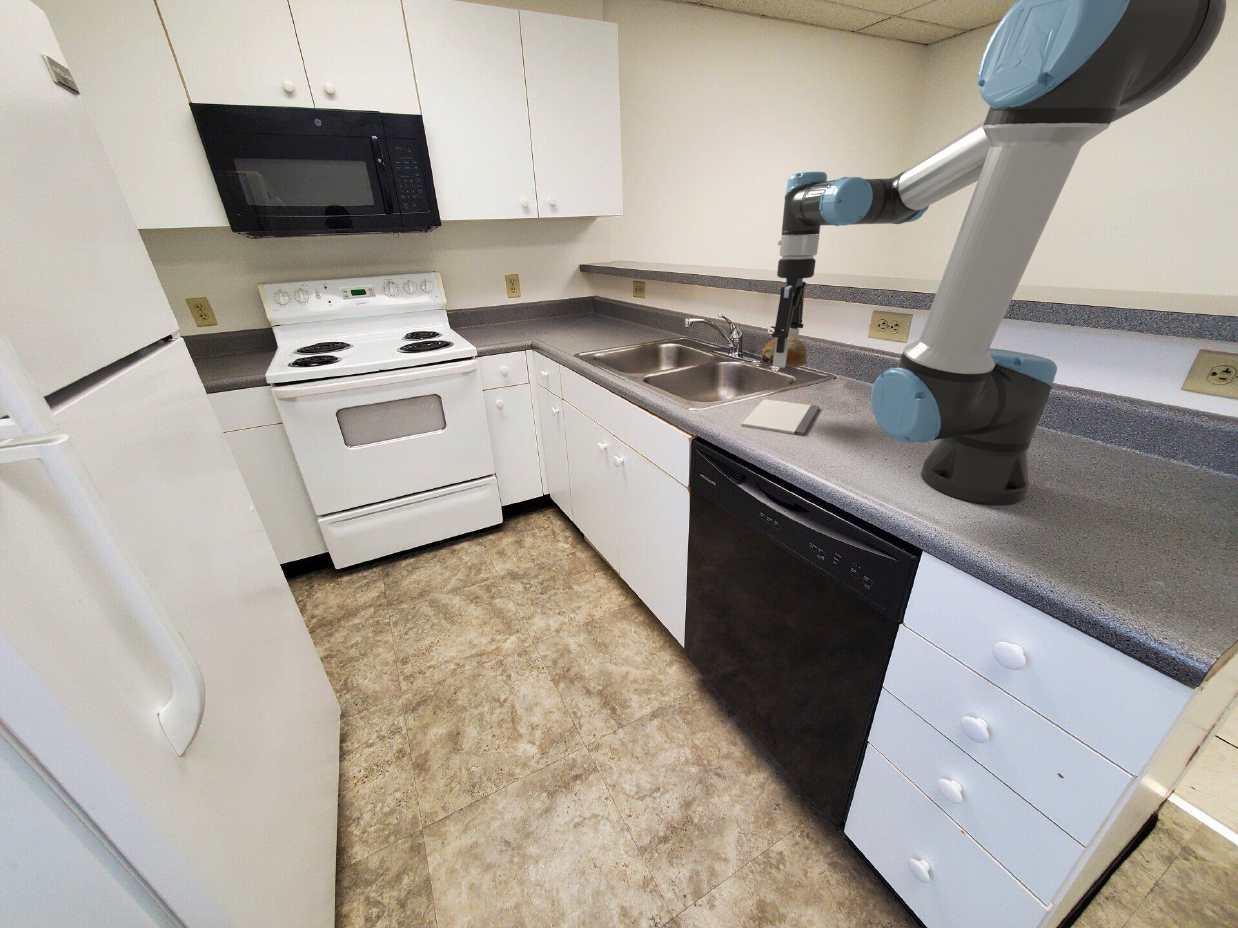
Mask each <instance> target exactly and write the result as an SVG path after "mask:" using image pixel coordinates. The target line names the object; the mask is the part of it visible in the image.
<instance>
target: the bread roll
mask: <svg viewBox="0 0 1238 928" xmlns="http://www.w3.org/2000/svg"><path fill="white" fill-rule="evenodd" d="M788 337H789V343H788V351H787V359H786V367H785V368H786V369H789V368H792V367H793V368H795V367H796V368H797V367H802V366H804V365H806V364H807V363H808V361H807V349H806V347H805V344H804V342H803V341H801V339H799V337H798V338H795V337H793V336H788ZM775 340H776V337H774V338H773V339H772V340H770V341H769V342H767V344H766V345H765V346H764V347H763V349H761V351H760V352H761V357H760V358H761V359H760V360H761V362H762V363H763V364H765V365H767V366H769V367H773V358H774V349H775Z"/></svg>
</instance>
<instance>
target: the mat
mask: <svg viewBox="0 0 1238 928" xmlns="http://www.w3.org/2000/svg"><path fill="white" fill-rule="evenodd" d="M819 409H820V405H817V404H816V405H814V404H803V403H796V402H791V401H790V402H789V401H781V400H772V399H766V398H763V399H762V401H760V402H759V404H758V405H757V406H756V407H755V408H754V409H753V410H752V411H751V412H750V413H749V414H748V416H747V417H746V418H745V419H744V420H743V421H742V422H741V427H745V428H752V429H758V430H759V429H760V430H763V431H764V430H766V431H770V432H771V431H773V432H776V433H777V432H778V433H783V434H790V435H796V436H797V435H798V436H803V437H804V435H805V434H806V433H807V430H809V427H810V425H811V424H812V421H813V420H814V418H815V417H816V415H817V413H818V411H819Z"/></svg>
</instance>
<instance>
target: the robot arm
mask: <svg viewBox="0 0 1238 928" xmlns="http://www.w3.org/2000/svg"><path fill="white" fill-rule="evenodd" d="M1226 10H1227V0H1017V1H1015V2H1014V3H1013V5H1011V7H1010V8H1009V9H1008V10H1007V11H1006V13H1005V14H1004V16H1003V17H1002V18H1001V20H1000V22H998V25H997V26H996V27H995V30H994V32H993V33H992V35H991V37H990V39H989V40H988V42H987V45H986V47H985V49H984V51H983V55H982V56H981V57H982V58H981V60H980V64H979V66H978V67H979V68H978V74H977V85H978V86H979V87H980V90H979V93H980V97H981V98H982V99H983V101H984V102H985V103H986V104H987V105H988V106H989V107H988V111H987V114H986V117H985V119H984V121H982V122H980V123H979V124H977V125H975V126H973V128H971V129H969V130H967V131H966V132H964V133H962V134H961V135H960V136H958V137H957V138H955V139H953V140H951V141H950V142H948V143H947V144H946V145H943V146H942V147H941V148H938V150H935V151H934V152H933V153H930V154H929V155H928V156H927V157H924V158H923V159H921V160H920V161H918V162H917V163H915V164H914V165H911V166H910V167H908V168H907V169H905V170H904V171H902V172H901V173H899V174H897V175H895V176H894V177H890V178H863V177H859V176H849V177H848V176H844V177H839V178H838V179H833V180H828V175H827V173H826V172H825V171H805V172H804V171H802V172H798V173H794V174H791V175H790V176H789V177H788V179H787V183H786V184H787V185H786V191H785V195H784V205H783V213H782V214H783V215H782V216H783V217H782V225H781V238H780V240H778V242H777V245H778V246H780V247H779V256H780V257H781V258H780V259H779V260H778V263H777V272H776V273H777V274H776V276H777V277H778V278H780V279H786V281H785V286H783V287H782V286H781V288H780V290H779V291H780V292H779V293H780V294H779V302H778V307H777V315H776V319H775V326H774V331H773V333H771V336H772V338H776V340H775V349H774V358H773V366H772V368H773V367H775V368H785V367H786V359H787V351H788V343H789V337H788V336H793V337H795V338H798V339H799V334H800V329H803V328H804V323H803V313H804V312H803V311H804V302H805V290H806V285H807V282H806V281H803V279H809V278H813V277H814V275H815V269H816V261H817V260H816V259H815V258H814V257H815V256H817V255H818V249H819V243H820V242H819V241H820V233H821V231H820V230H821V226H834V227H835V226H836V227H839V226H842V227H843V226H848V225H849V226H851V225H854V226H855V225H879V224H882V225H884V224H885V225H887V224H890V225H891V224H892V225H901V224H904V223H912V222H915V221H917V220H918V219H920V218H921V217H923V215H924V214H925V213H926V212H927V211H928V209H929V207H930V206H931V205H932V204H936V203H937V202H938V201H940V200H943V199H945V198H946V197H949V196H951V195H952V194H955V193H956V192H958V191H960V190H962V189H964V188H966V187H968V186H970V185H973V184H975V183H976V186H975V188H974V190H973V194H972V196H971V199H970V201H969V204H968V207H967V210H966V212H965V215H964V217H963V220H962V223H961V226H960V229H959V231H958V233H957V237H956V239H955V242H954V245H953V248H952V251H951V253H950V256H949V258H948V261H947V264H946V266H945V270H944V272H943V274H942V277H941V280H940V282H939V284H938V285H939V286H938V288H937V290H936V293H935V296H934V299H933V302H932V304H931V306H930V310H929V313H928V315H927V318H926V321H925V323H924V326H923V329H922V331H921V335H920V337H919V339H917V340H915V341H912V342H911V343H908V344H907V345H906V346H905V347H904V349H903V351H902V354H901V357H900V359H899V361H898V365H897V367H891V368H889V369H887V370H885V371H884V372H883V373H881V374H879V375H878V377H877V378H876V379H875V381H874V383H873V385H872V389H871V392H870V393H871V396H870V405H871V409H872V410H871V411H872V413H873V415H874V418H875V421H876V423H877V425H878V427H879V428H880V429H881V431H883V432H884V434H886V435H887V436H888V437H889V438H891V439H893V440H895V441H897V442H899V443H905V444H906V443H907V444H909V443H910V444H911V443H921V444H923V443H929V442H931V441H936V440H939V441H938V442H937V443H936V445H935V447H933V448H932V451H931V452H930V453H929V454H928V456H927V457H926V459H925V460H924V462H923V463H922V464H923V465H922V467H921V472H920V476H921V478H922V480H923V481H924V482H925V484H928V486H929V487H931V488H933V489H935V490H936V491H939V492H940V493H943V494H945V495H948V496H950V497H954V498H957V499H960V500H963V501H968V502H973V503H979V504H985V505H1001V506H1002V505H1010V504H1011V505H1012V504H1016V503H1019V502H1021V501H1022V500H1023V499H1024V498H1025V496H1026V493H1027V491H1028V488H1029V484H1030V481H1029V480H1030V479H1029V477H1030V476H1029V463H1028V451H1029V448H1030V445H1031V442H1032V440H1033V437H1034V435H1035V432H1036V430H1037V427H1038V424H1039V422H1040V420H1041V419H1040V418H1041V416H1042V414H1043V412H1044V408H1045V406H1046V403H1047V401H1048V399H1049V396H1050V393H1051V391H1052V389H1053V388H1054V387H1055V386H1054V385H1055V384H1054V382H1055V379H1056V378H1055V377H1056V375H1057V371H1058V366H1057V364H1056V363H1055V362H1054V361H1053V360H1051V359H1049V358H1046V357H1042V356H1040V355H1036V354H1030V353H1026V352H1019V351H1014V350H1008V349H1007V350H1006V349H999V348H993V347H991V345H992V343H993V341H994V339H995V336H996V334H997V332H998V330H999V328H1000V326H1001V323H1002V322H1003V319H1004V316H1005V315H1006V313H1007V311H1008V308H1009V307H1010V304H1011V302H1012V300H1013V298H1014V295H1015V293H1016V291H1017V288H1018V287H1019V284H1020V282H1021V280H1022V278H1023V276H1024V274H1025V271H1026V268H1027V266H1028V265H1029V263H1030V260H1031V258H1032V255H1034V251H1035V249H1036V247H1037V245H1038V243H1039V241H1040V239H1041V236H1042V234H1043V232H1044V230H1045V228H1046V225H1047V223H1048V221H1049V218H1050V217H1051V214H1052V212H1053V211H1054V208H1055V205H1056V203H1057V201H1058V199H1059V198H1060V196H1061V193H1062V190H1063V188H1064V186H1065V184H1066V182H1067V180H1068V177H1069V175H1070V173H1071V171H1072V169H1073V167H1074V164H1075V162H1076V160H1077V158H1078V156H1079V154H1080V152H1081V149H1082V147H1084V145H1086V143H1088V142H1089V141H1090V140H1092V139H1093V138H1095V137H1096V136H1099V135H1100V134H1101V133H1103V132H1104V131H1106V130H1108V128H1109V127H1110V125H1111V124H1112V123H1113V122H1115V121H1117V120H1120V119H1122V118H1123V117H1126V116H1128V115H1130V114H1132V113H1134V112H1135V111H1137V110H1139V109H1142V108H1144V107H1145V106H1147V105H1149V104H1150V103H1152V102H1154V101H1155V100H1157V99H1159V98H1161V97H1162V96H1164V95H1166V94H1167V93H1168V92H1169V91H1170V90H1172V89H1173V88H1174V87H1176V86H1177V85H1178V84H1180V83H1181V82H1182V81H1184V80H1185V78H1187V77H1188V76H1189V75H1190V74H1191V73H1192V72H1193V70H1195V69H1196V67H1198V66H1199V64H1200V63H1201V62H1202V60H1203V59H1204V58H1205V57H1206V55H1207V54H1208V53H1209V52H1210V50H1211V48H1212V46H1213V45H1214V43H1215V41H1216V39H1217V38H1218V35H1219V34H1220V32H1221V29H1222V26H1223V23H1224V20H1225V16H1226V12H1227V11H1226Z"/></svg>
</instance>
